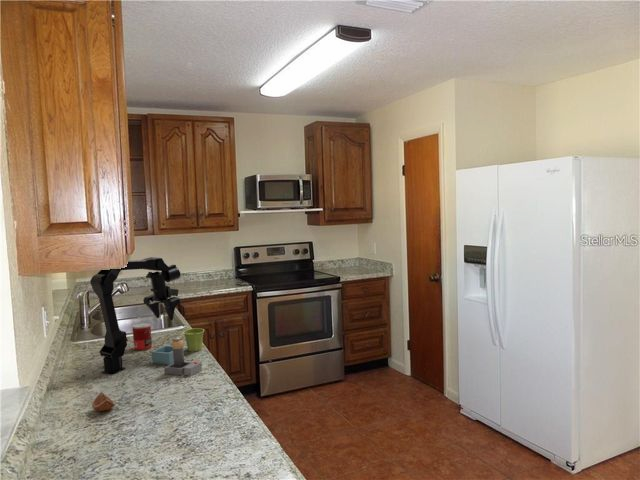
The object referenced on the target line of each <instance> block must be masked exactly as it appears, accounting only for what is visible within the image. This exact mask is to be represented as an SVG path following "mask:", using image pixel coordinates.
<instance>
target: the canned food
mask: <svg viewBox="0 0 640 480" xmlns="http://www.w3.org/2000/svg"><path fill="white" fill-rule="evenodd" d="M151 326H152V325H151V323H149V322H148V323H147V322H144V323H142V322H141V323H137V324H133V325H132V336H133V337H132V338H133V348H134V350H135V351H139V352H141V351H142V350H143V351H147V350H150V349H152V347H153V341H152V340H153V339H152V327H151Z"/></svg>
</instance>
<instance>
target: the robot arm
mask: <svg viewBox="0 0 640 480" xmlns="http://www.w3.org/2000/svg"><path fill="white" fill-rule="evenodd" d="M127 261H128V264H127V267H125V268H121V269H110V270H102V269H100V270H99V271H97V273H96V274H95V275H93V276H92V277H91V279H90V281H89V284H90V286H91V288H92V291H93V293H95V295H96V296H97V297H98V301H99V305H100V310H101V315H102V318H103V322H104V327H105V335H104V344H103V345H102V347H101V349H100V350H99V352H98V353H99V355H100V356H101V357H103V358H102V359H103V369H104V370H101V373H102V374H109V375H114V374H116V373H119V372H121V371H124V370H126V367H124V365H123V356H124V354H125V351H126V348H127V346H128V342H129V340H128V338H127V332H126V331H123V330H121V329H120V326H119V322H118V317H117V312H116V309H115V304H114V300H113V291H114V290H115V289H114V283H115V281H116V280H117V279H118V276H119V274H120V273H121V271H127V270H128V271H130V270H133V271H134V270H147V271H148V272H147V274H146V275H145V278H146V279H150V281H151V282H150V283H151V287H152V288H150V292H153V294H150V295H147V296H145V297H144V298H143V304H144V305H145V306H146V307H147V308H148V309H149V310H150V311H151V313H152V314H153V315H154V316H155V317H156V318H157V319H159V318H160V314H161V313H160V307H159V306H160V304H163V305H164V310H165V313H166V314H167V317H168V318H169V320H170V321H173V320H174V317H175V316H174V315H175V310H176V308H177V306H179V305H180V304H181V298H180V297H179V289H177V288H171V286H169V285H167V284H166V283H171V282H173V281H175V280H179V279H180V278H181V275H182V274H181V271H180V270H179V269H180V268H178V267H177V264H171V265H167V263H165V261H164V259H163V257H152V256H151V257H145V258H143V259H140V260H138V259H137V260H127ZM152 271H153V272H152Z"/></svg>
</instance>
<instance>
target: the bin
mask: <svg viewBox="0 0 640 480" xmlns="http://www.w3.org/2000/svg"><path fill="white" fill-rule="evenodd" d="M151 363H153V364H154V365H155V364H156V365H162V364H163V365H164V366H168V365H170V364H172V363H174V359H173V347H172V345H164V346H162V347H160V348H157V349H155V350H153V351H151ZM153 364H152V365H153ZM163 365H162V366H163Z"/></svg>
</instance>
